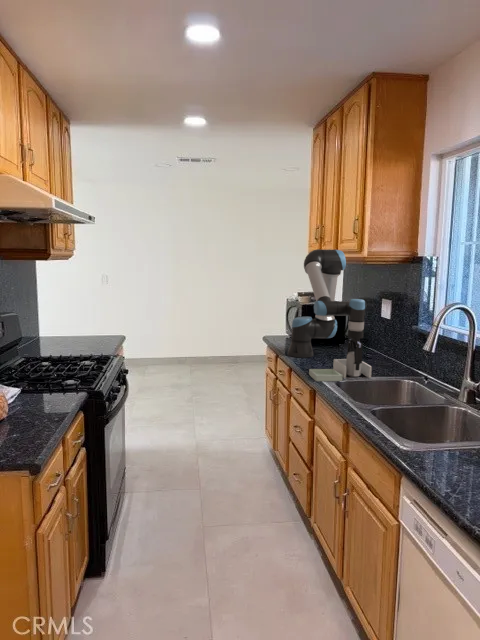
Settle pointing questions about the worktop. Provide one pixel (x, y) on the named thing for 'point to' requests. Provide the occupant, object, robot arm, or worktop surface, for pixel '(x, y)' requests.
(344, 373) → the bay
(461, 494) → the worktop surface
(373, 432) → the worktop surface
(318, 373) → the tray
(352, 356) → the can
